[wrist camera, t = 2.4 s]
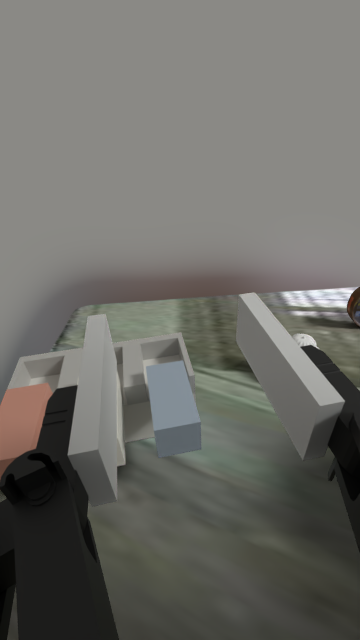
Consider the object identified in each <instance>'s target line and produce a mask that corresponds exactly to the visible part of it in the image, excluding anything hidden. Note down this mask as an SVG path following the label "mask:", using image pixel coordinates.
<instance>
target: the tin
mask: <svg viewBox="0 0 360 640" xmlns="http://www.w3.org/2000/svg"><path fill="white" fill-rule="evenodd" d="M347 312H348V314H349V316H350V317H351V319H352V320H353V321H354V322H355V324H356V325H358V326H359V327H360V287H359V288H357V289H356V290H355V291H354V292H353V293H352V294H351V296H350V298H349V301H348V304H347Z"/></svg>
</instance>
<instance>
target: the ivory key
mask: <svg viewBox="0 0 360 640" xmlns="http://www.w3.org/2000/svg"><path fill="white" fill-rule="evenodd" d="M78 381H79V378H78ZM77 385H78V382H77ZM121 465H125V430H124V397H123V393H122V389H121V384H120V380H119V376H118V372H117V466H121Z"/></svg>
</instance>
